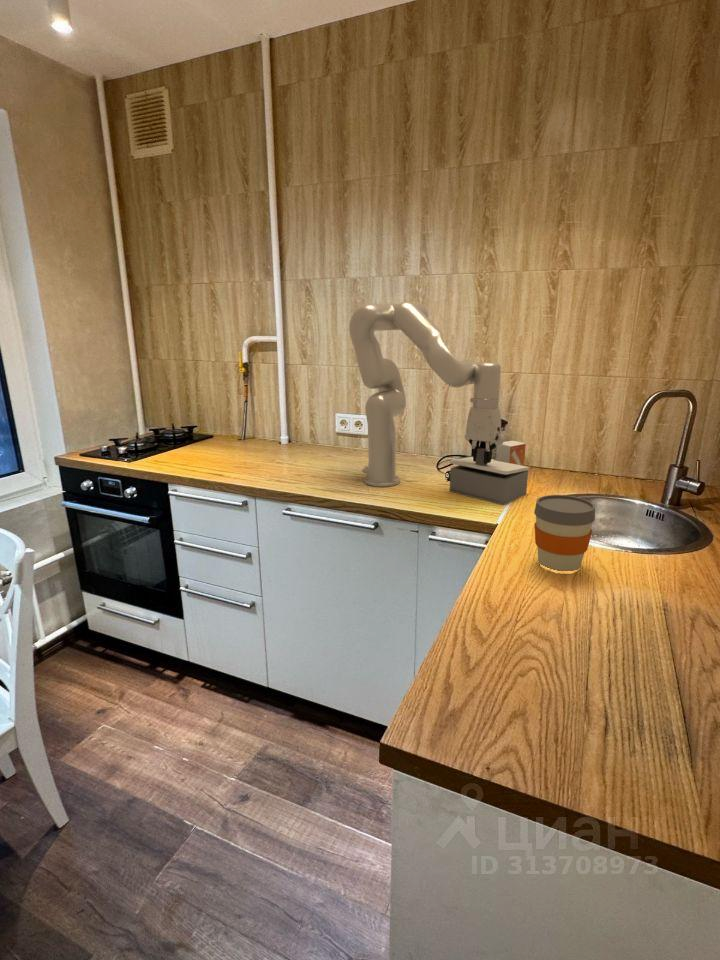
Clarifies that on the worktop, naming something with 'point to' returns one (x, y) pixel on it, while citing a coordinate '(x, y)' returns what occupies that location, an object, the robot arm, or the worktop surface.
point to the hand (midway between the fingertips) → (481, 461)
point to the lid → (489, 464)
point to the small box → (511, 452)
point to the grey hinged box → (488, 484)
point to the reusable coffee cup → (563, 530)
